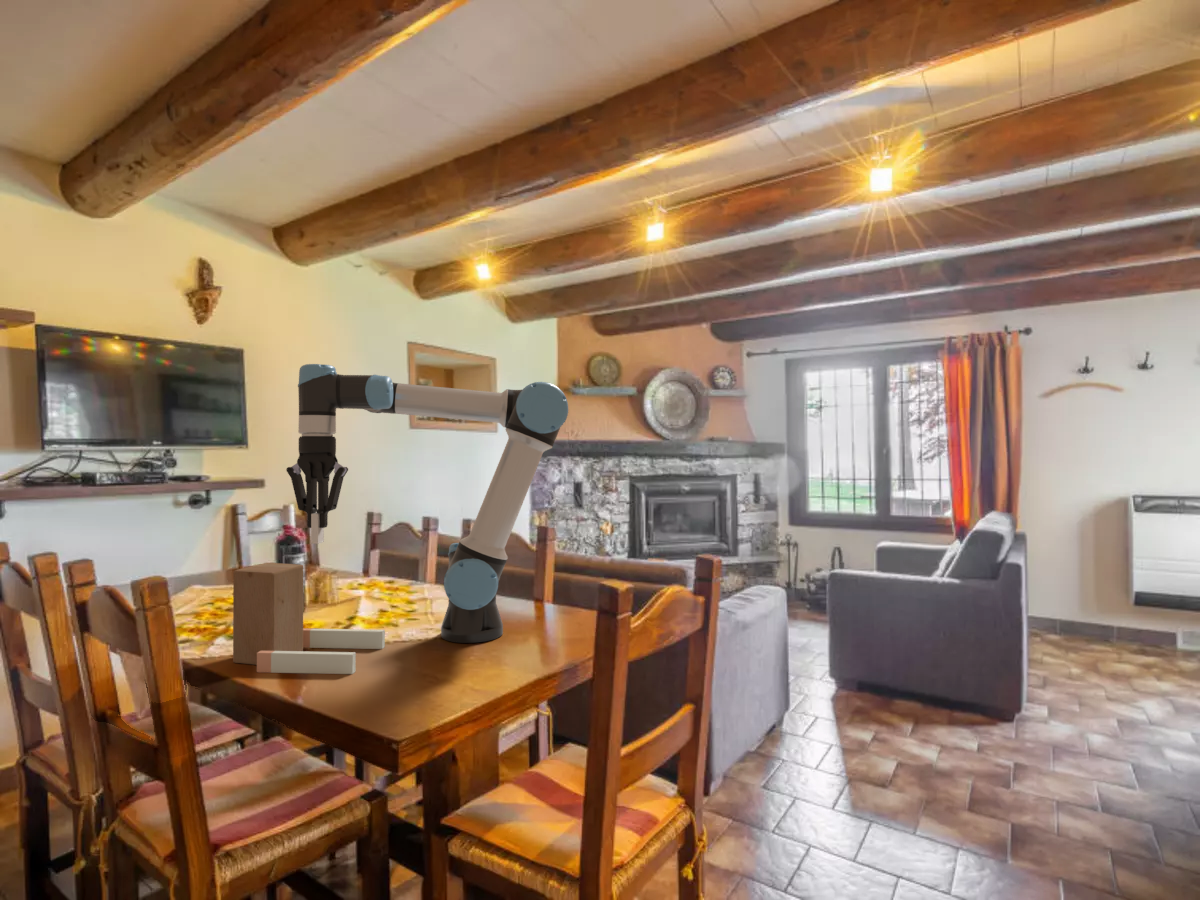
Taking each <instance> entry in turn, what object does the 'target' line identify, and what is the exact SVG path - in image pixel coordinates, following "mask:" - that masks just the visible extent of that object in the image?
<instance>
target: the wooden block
mask: <svg viewBox="0 0 1200 900" xmlns="http://www.w3.org/2000/svg"><path fill="white" fill-rule="evenodd" d="M232 591H233V597H232V598H233V599H232V600H233V601H232V602H233V605H232V606H233V610H232V611H233V612H232V613H233V618H232V619H233V620H232V621H233V622H232V624H233V627H232V628H233V629H232V630H233V631H232V636H233V637H232V639H233V642H232V649H233V650H232V662H233V663H235V664H247V665H255V666H257V653H258V652H259V651H304V648H303V628H304V565H303V564H295V563H282V562H281V563H280V562H264V563H260V564H257V565H252V566H246V567H243V568H238V569H235V570H233V589H232Z"/></svg>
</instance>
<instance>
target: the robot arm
mask: <svg viewBox="0 0 1200 900" xmlns="http://www.w3.org/2000/svg"><path fill="white" fill-rule="evenodd" d="M297 388H298V429H297V430H298V434H301V436H299V437H298V458H297V460H296V463H295V464H293V465H292V466H288V467H286V470H285V471H286V473H287V474H288V476H289V477H290V480H291V483H292V488H293V492H294V496H295V500H296V504H297V509H298V510H299V511H303V512H305V513H306V514H307V519H306V520H307V521H306V522H307V528H308V529H311V530H310V531H311V532H310V535H311V536H310V538H311V539H310V542H311V543H310V544H311V545H312V544H314V545H315V544H316V545H319V544H322V543H324V540H325V539H324V537H325V536H324V535H325V532H324V531H325V528H327V527H328V525H329V524H328V523H329V522H328V519H329V518H328V517H329V516H328V515H329V514H328V513H329V512H331V511H334V510H336V509H337V508H338V503H339V498H340V494H341V490H342V486H343V483H344V482H343V481H344V477H345V476H346V474H348V473H347V472H348V471H349V468H348V467H347V466H343V465H342V464H340V463H339V461H338V459H337V455H336V453H337V438H336V437H335V436H334V435H335V434H336V433H337V419H336V417H337V413H336V412H337V409H340V410H341V409H344V410H345V409H346V410H347V409H349V410H351V409H353V410H364V411H367V412H369V413H372V414H373V413H374V414H381V413H382V414H393V415H394V414H395V415H396V414H397V415H407V416H419V417H420V416H421V417H431V418H439V419H440V418H441V419H442V418H443V419H453V420H463V421H475V422H476V421H477V422H486V423H498V424H500V425H501V426H502V427H503V428H505V432H506V434H507V436H508V440H507V442H506V444H505V446H504V449H503V452H502V453H501V457H500V460H499V462H498V463H497V466H496V469H495V471H494V474H493V476H492V479H491V481H490V483H489V486H488V488H487V490H486V492H485V493H486V494H485V495H484V499H483V500H482V503H481V505H480V508H479V510H478V513H477V516H476V518H475V521H474V523H473V524H472V528H471V529H470V533H469V535H467V536H465V537H463V538H461V539H460V540H459V542H453V543H451V544H450V545H449V547H448V553H447V555H448V568H447V570H446V573H445V574H444V578H443V589H444V591H445V594H446V597H447V599H448V606H447V609H446V612H445V614H444V617H443V620H442V624H441V627H440V637H441V638H442V639H443V640H445V641H448V642H452V643H461V644H473V643H474V644H475V643H483V642H488V641H492V640H496V639H499V638H500V637H502V636H503V634H504V623H503V621H502V618H501V614H500V610H499V608H498V605H497V592H498V590H499V585H500V583H499V581H500V579H501V575H502V573H503V571H504V568H505V567H506V563H507V562H508V559H509V556H508V554H507V552H506V546H507V544H508V540H509V538H510V536H511V533H512V531H513V528H514V526H515V523H516V521H517V518H518V516H519V513H520V511H521V508H522V506H523V503H524V501H525V498H526V496H527V493H528V491H529V488H530V486H531V484H532V481H533V479H534V477H535V474H536V471H537V468H538V467H539V464H540V461H541V459H542V457H543V453H545V452H546V451H548V450H551V449H553V447H554V444H555V441H556V440H557V437H558V434H559V432H560V429H561V427H562V426H564V424H565V423H566V420H567V418H568V416H569V404H568V399H567V397H566V395H565V393H564V392H563V390H561V389H560V388H559V387H558V386H556V385H555V384H553V383H550V382H546V381H534V382H532V383H529V384H528V385H526V386H525V387H523V389H509V388H508V389H505V390H503V391H502V392H500V391H499V392H497V391H496V392H495V391H487V390H474V389H464V388H453V387H452V388H451V387H443V386H441V387H440V386H432V385H421V384H412V383H399V382H398V383H397V382H393V380H392V378H391V377H390V376H388V375H378V374H371V375H370V374H369V375H365V374H363V375H362V374H357V375H356V374H339V373H338V372H337V369H336V367H335V366H333V365H330V364H319V363H307V364H303V365H301V366H300V368H299V372H298V384H297ZM302 472H303V474H304V475H305V476H304V477H305V478H304V480H303V476H302V474H301V473H302ZM332 472H333V473H334V475H333V478H332V482H331V486H330V490H329V482H330V476H331V474H332ZM304 481H305V483H306V486H305V484H304ZM305 487H306V488H305Z"/></svg>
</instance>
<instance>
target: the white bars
mask: <svg viewBox="0 0 1200 900" xmlns="http://www.w3.org/2000/svg"><path fill="white" fill-rule="evenodd" d="M385 635H386V631H385V629H365V628H364V629H362V628H361V629H359V628H357V629H356V628H355V629H354V628H353V629H351V628H350V629H349V628H309V627H308V628H304V627H303V649H304V648H305V649H306V648H314V649H316V648H317V649H318V648H319V649H362V650H363V649H368V650H369V649H371V650H383V649H384V648H385V646H386V644H385V643H386V642H385V640H386V639H385V637H386V636H385ZM356 654H357V653H356V652H355V651H353V652H351V651H350V652H349V651H307V650H306V651H304V650H303V651H259V652H258V653H257V665H256V673H273V674H274V673H275V674H276V673H277V674H280V673H281V674H319V675H320V674H330V675H331V674H333V675H334V674H335V675H353V674H355V673H356V671H357V669H356V664H357V663H356V661H357V660H356V659H357V658H356V657H357V656H356Z"/></svg>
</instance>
